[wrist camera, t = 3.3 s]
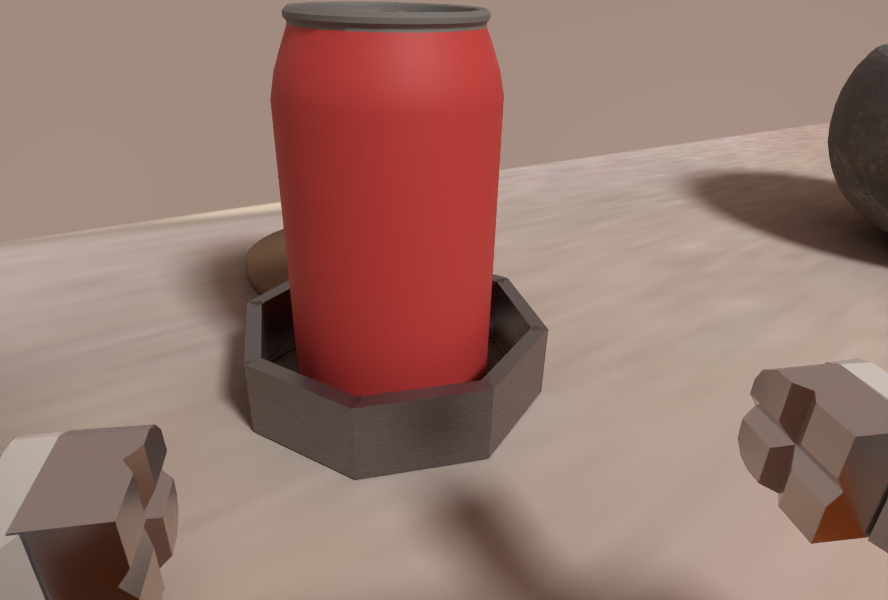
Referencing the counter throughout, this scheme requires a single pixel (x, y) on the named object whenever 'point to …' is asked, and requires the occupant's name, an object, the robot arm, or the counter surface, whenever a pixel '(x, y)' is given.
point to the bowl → (863, 138)
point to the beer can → (388, 190)
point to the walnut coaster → (268, 263)
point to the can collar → (392, 397)
